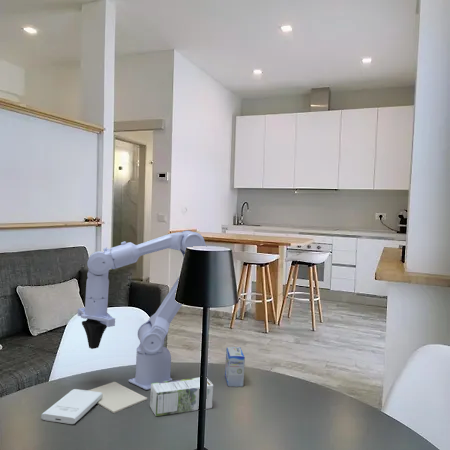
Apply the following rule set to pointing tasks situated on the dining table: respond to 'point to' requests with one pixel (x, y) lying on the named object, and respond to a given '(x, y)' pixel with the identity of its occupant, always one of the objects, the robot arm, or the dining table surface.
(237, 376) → the medicine box
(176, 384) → the syrup box
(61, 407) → the external hard drive
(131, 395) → the mat
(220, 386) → the dining table surface
